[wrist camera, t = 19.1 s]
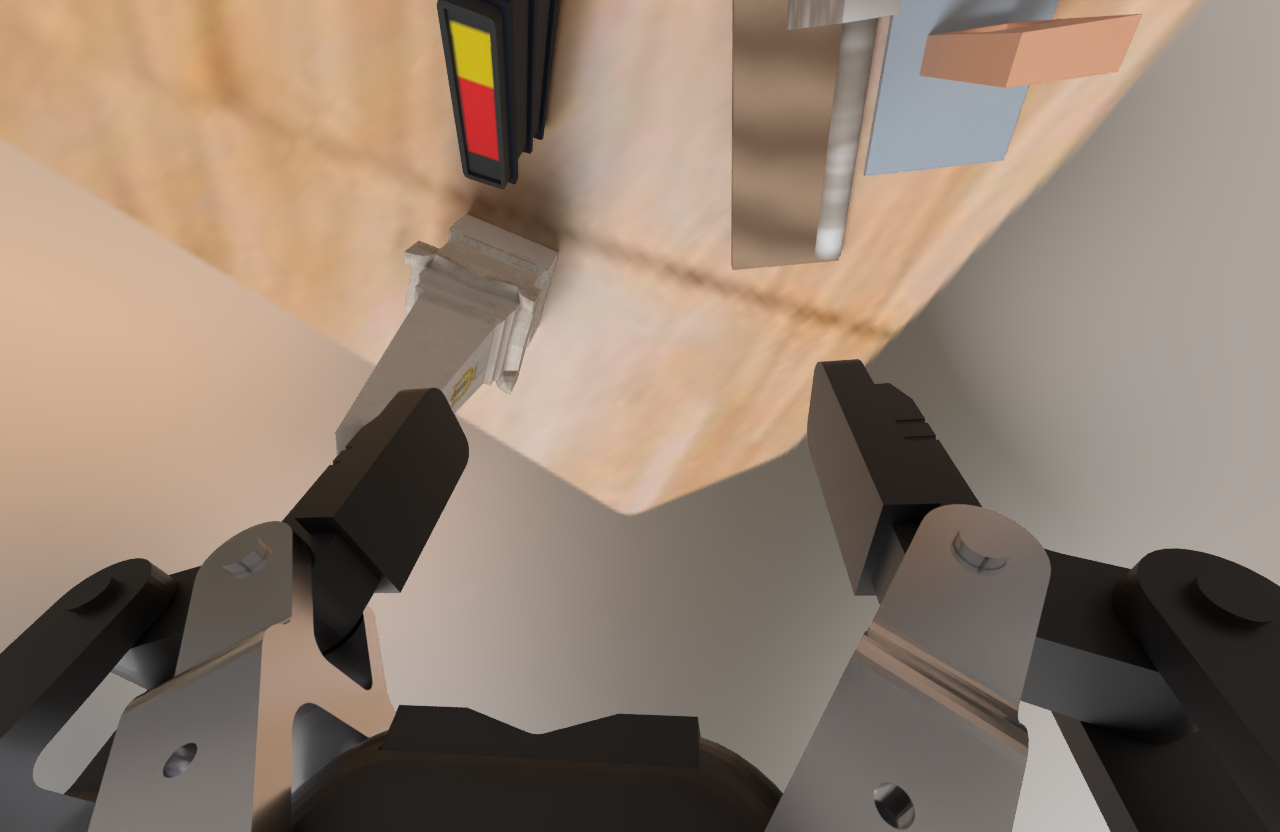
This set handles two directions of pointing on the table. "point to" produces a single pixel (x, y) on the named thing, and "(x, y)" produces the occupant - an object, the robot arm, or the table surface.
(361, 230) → the table surface
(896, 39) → the mat
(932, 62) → the salmon hollow block
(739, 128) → the stand
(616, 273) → the table surface
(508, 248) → the miniature monument
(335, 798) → the robot arm
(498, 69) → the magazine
